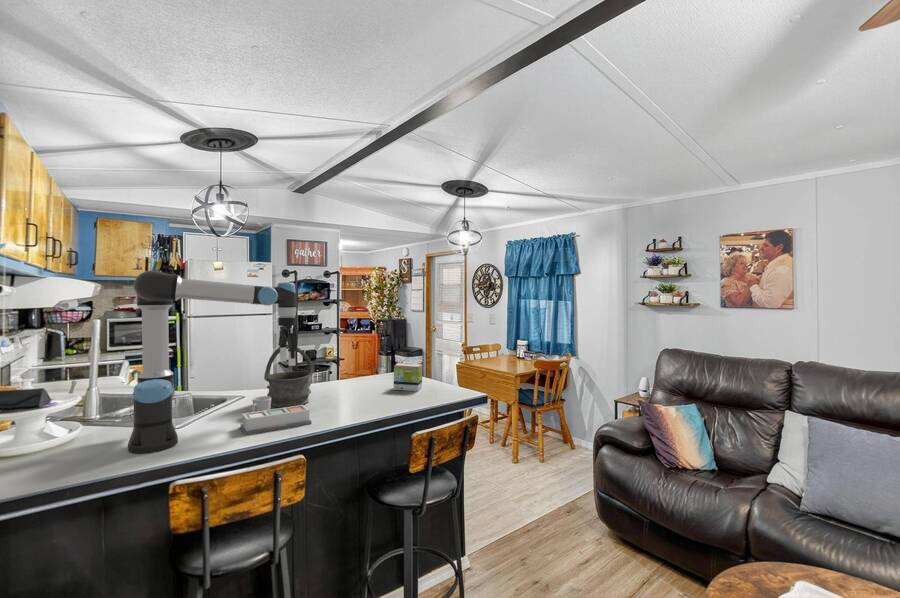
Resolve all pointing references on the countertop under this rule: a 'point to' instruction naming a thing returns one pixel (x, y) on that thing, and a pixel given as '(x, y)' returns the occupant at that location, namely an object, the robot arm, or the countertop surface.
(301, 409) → the key terracotta
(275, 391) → the dark handled basket
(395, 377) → the tea box
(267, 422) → the grey compartment tray
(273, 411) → the key sage
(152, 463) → the countertop surface
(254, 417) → the key cream
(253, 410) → the cup
